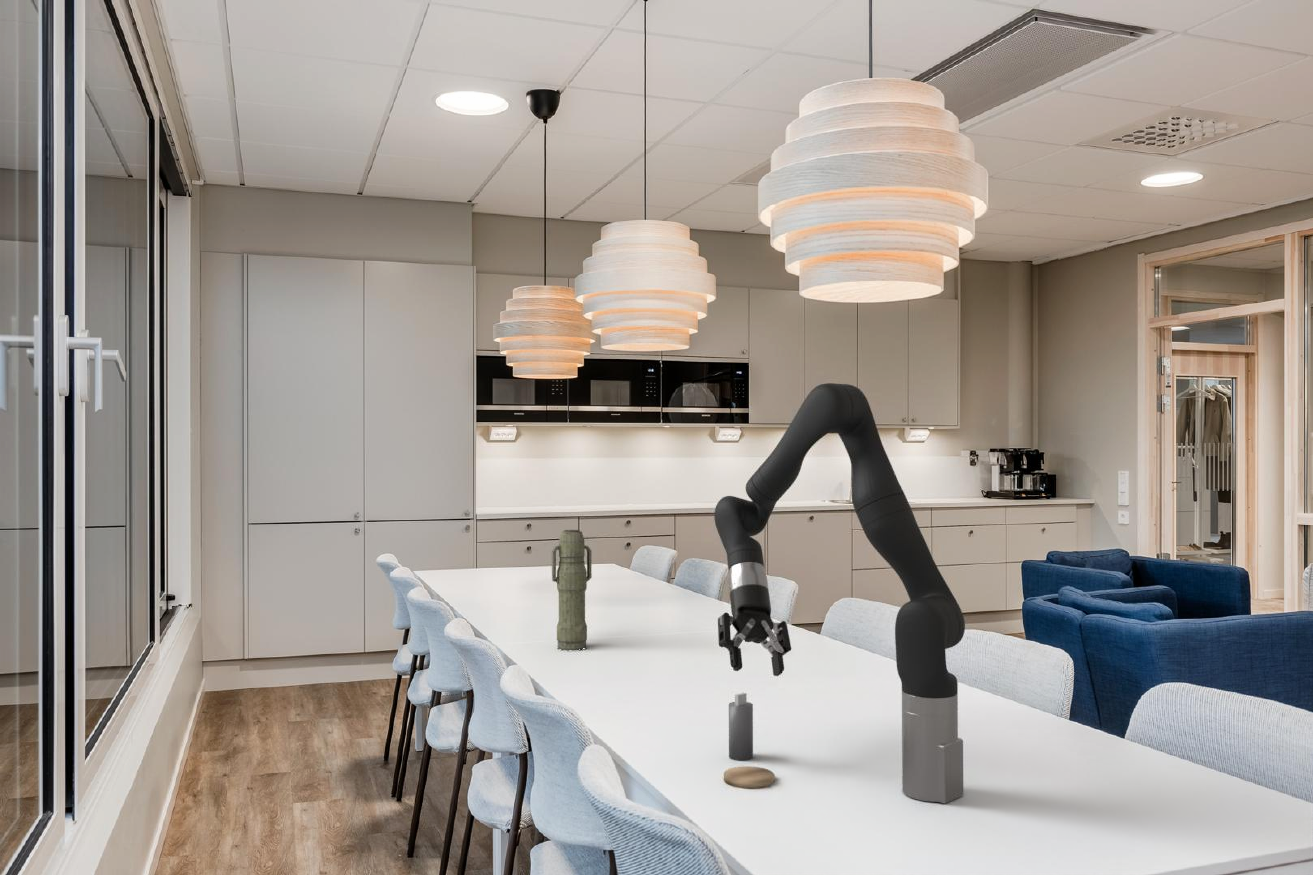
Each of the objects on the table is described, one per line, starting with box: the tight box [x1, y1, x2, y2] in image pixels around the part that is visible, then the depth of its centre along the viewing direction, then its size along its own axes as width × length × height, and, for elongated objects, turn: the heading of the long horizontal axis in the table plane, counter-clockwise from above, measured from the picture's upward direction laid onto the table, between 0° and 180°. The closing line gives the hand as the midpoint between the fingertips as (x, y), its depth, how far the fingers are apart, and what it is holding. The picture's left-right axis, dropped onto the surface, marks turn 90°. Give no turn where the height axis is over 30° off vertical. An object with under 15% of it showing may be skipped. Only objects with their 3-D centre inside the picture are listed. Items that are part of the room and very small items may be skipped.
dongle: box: [728, 692, 754, 762], centre depth 191 cm, size 5×5×12 cm
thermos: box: [551, 529, 593, 651], centre depth 298 cm, size 9×12×35 cm
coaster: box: [723, 765, 775, 789], centre depth 178 cm, size 9×9×1 cm
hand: (758, 672), depth 183 cm, fingers open, 8 cm apart
